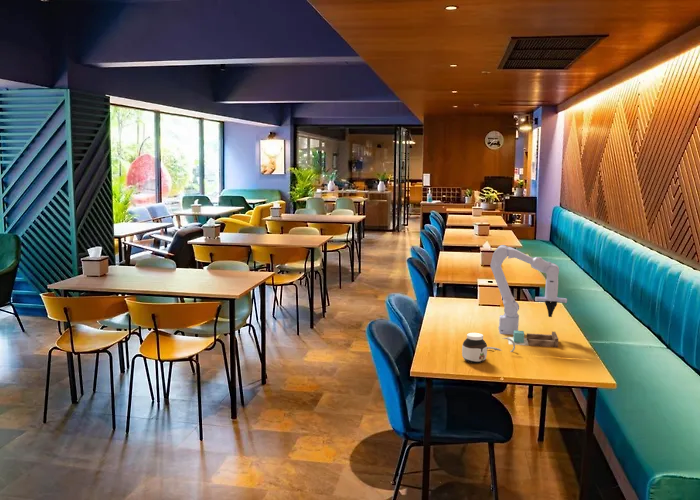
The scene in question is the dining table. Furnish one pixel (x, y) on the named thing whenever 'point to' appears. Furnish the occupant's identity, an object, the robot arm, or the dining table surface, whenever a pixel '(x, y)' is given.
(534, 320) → the dining table surface
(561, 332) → the dining table surface
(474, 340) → the spread jar
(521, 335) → the teal block
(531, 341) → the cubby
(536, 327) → the dining table surface
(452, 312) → the dining table surface
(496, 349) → the hook
